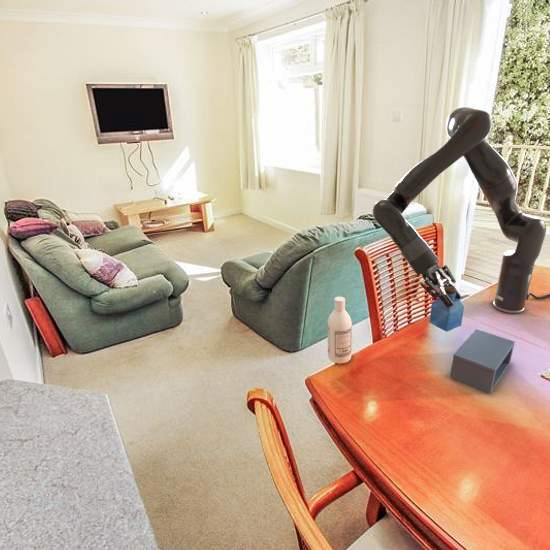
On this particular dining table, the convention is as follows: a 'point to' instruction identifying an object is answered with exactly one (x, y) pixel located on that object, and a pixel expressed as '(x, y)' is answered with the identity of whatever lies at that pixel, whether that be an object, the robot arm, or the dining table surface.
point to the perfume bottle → (447, 312)
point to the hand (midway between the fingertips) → (454, 302)
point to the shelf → (482, 360)
